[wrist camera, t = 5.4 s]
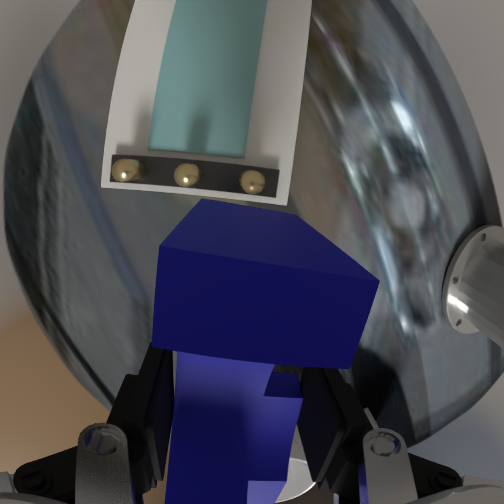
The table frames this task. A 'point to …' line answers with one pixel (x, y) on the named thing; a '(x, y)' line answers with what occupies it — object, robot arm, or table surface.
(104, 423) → the robot arm
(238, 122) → the board
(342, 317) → the blue curved stepped piece
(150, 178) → the coat peg rack
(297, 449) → the white cup
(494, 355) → the table surface
